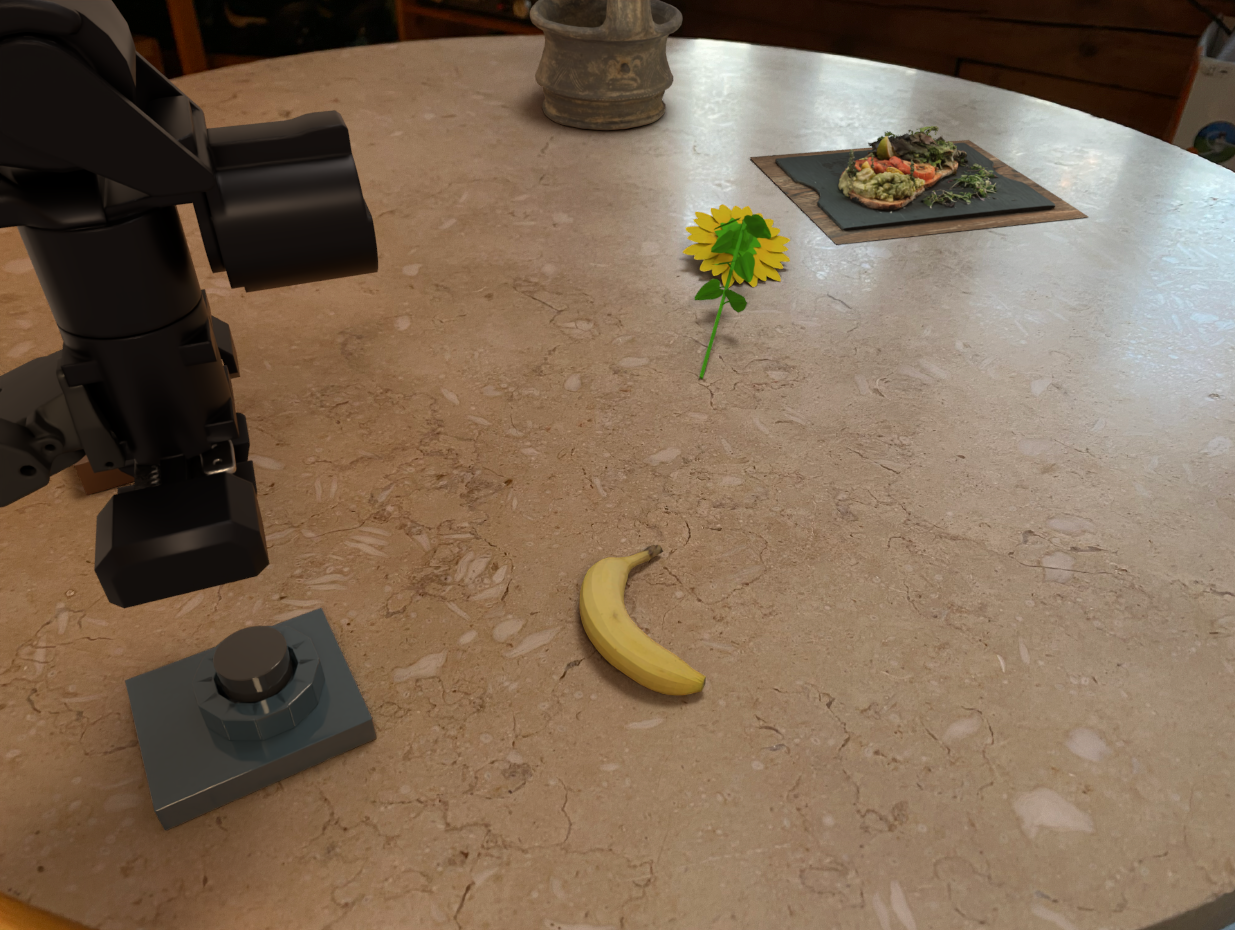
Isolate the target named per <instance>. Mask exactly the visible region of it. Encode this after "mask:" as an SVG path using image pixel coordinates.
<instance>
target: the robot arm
mask: <svg viewBox="0 0 1235 930" xmlns="http://www.w3.org/2000/svg"><path fill="white" fill-rule="evenodd" d="M136 49H137V48H136V45H135V42H134V39H133V35H132V33H131V30H130V27H129V24H128V21H126V19H125V18H124V16H123V14H122V12H120V10H119V8H117V6H116V4H115V3H114V2H113V0H0V229H7V228H15V227H16V228H17V230H18V233H19V235H20V238H21V240H22V243H23V245H24V248H25V250H26V252H27V255H28V257H29V260H30V263H31V265H32V267H33V270H34V273H35V275H36V278H37V279H38V282H39V284H40V288H41V289H42V292H43V294H44V297H45V299H46V302H47V304H48V306H49V309H50V312H51V313H52V316H53V319H54V322H55V323H56V326H57V328H58V329H57V330H59V333H60V337H61V339H62V348H61V349H59V350H56V351H55V352H53V353H49V354H48V355H44V356H38V357H36V358H34V359H31V360H29V361H27V362H25V363H23V364H20V365H18V366H17V367H15V368H13V369H11V370H9V371H7V372H5V373H3V374H1V375H0V508H5V507H9V505H12V504H13V503H16V502H17V501H19V500H21V499H23V498H25V497H27V496H29V495H31V494H34V493H35V492H38V491H39V490H41V489H42V488H46V487H47V486H48V485H49V483H50V479H51V478H52V477H53V476H55V475H57V474H58V473H60V472H62V471H64V470H66V469H68V468H70V467H72V466H74V464H76V463H77V462H78V461H80V460H81V459H82V458H83V457H84V456H85V455H86V456H87V458H88V460H89V463H90V465H91V467H92V470H93V472H94V473H98V472H103V471H108V470H113V469H119V470H120V471H121V472H123V473H125V474H128V475H130V476H132V477H134V483H133V484H129V485H125V486H124V485H123V486H118V487H117V490H116V492H117V493H114V494H113V495H112V496H111V497H110V499H109V500H108V501H107V503H106V504H105V505H104V506H103V507H102V509H101V510H100V511H99V512H98V514H97V515H96V521H95V522H96V524H95V544H94V545H95V546H94V547H95V548H94V565H93V566H94V567H93V571H94V573H95V575H96V577H97V579H98V581H99V584H100V585H101V588H102V590H103V592H104V594H105V597H106V598H107V601H108V603H109V604H112V605H114V606H117V607H119V608H122V609H124V610H125V609H128V608H132V607H137V606H140V605H145V604H149V603H152V602H158V601H161V600H166V599H169V598H174V597H178V596H182V595H186V594H190V593H195V592H199V591H202V590H206V589H212V588H214V587H218V586H219V587H220V586H223V585H227V584H231V583H235V582H239V581H245V580H249V579H252V578H255V577H256V578H257V577H258V576H259V575H260V574H261V573H262V572H263V571H264V570H265V569H266V568H267V567H268V566H269V565H270V558H269V552H268V545H267V538H266V533H265V526H264V522H263V518H262V512H261V508H260V504H259V500H258V485H257V480H256V473H255V466H254V460H253V459H250V460H249V455H250V449H251V441H250V434H249V429H248V428H249V427H248V422H247V417H246V415H245V414H244V413H242V412H237V411H236V410H237V409H236V404H235V397H234V389H233V388H234V387H233V382H232V379H233V380H234V379H237V378H241V371H240V366H239V360H238V352H237V349H236V346H235V343H234V338H233V335H232V330H231V327H230V324H229V323H228V322H226V321H223V320H221V319H220V318H218V317H216V316H214V315H212V309H211V306H210V302H209V299H208V298H209V297H208V294H207V291H206V288H203V289H202V288H201V285H200V282H199V278H198V275H197V272H196V268H195V263H194V261H193V258H192V254H191V250H190V247H189V244H188V240H187V237H186V234H185V230H184V226H183V223H182V220H181V216H180V212H179V209H178V206H181V205H188V204H192V205H193V210H194V214H195V216H196V221H197V225H198V230H199V232H200V236H201V240H202V244H203V247H204V248H203V249H204V251H205V255H206V258H207V261H208V264H209V268H210V270H211V273H212V274H219V273H224V272H226V276H227V279H228V283H229V285H230V289H231V290H234V289H240V288H244V290H245V293H246V294H247V293H252V292H253V293H254V292H260V291H265V290H273V289H279V288H286V287H292V286H298V285H305V284H310V283H312V284H313V283H317V282H323V281H330V280H336V279H343V278H348V277H349V278H351V277H355V276H362V275H369V274H375V273H378V272H379V254H378V253H379V251H378V244H377V243H378V242H377V237H376V236H377V235H376V230H375V224H374V218H373V215H372V212H371V211H370V209H369V206H368V204H367V202H366V200H365V197H364V195H363V189H362V184H361V180H360V177H359V173H358V169H357V166H356V162H355V158H354V155H353V149H352V144H351V139H350V133H349V131H350V130H349V128H348V126H347V124H346V122H345V120H344V117H343V116H342V114H341V113H340V112H339V111H337V110H336V109H333V110H324V111H314V112H309V113H304V114H301V115H299V116H298V115H297V116H296V117H293V118H290V119H285V120H276V121H266V122H258V123H257V122H256V123H247V124H237V125H228V126H218V127H208V126H207V123H206V117H205V113H204V110H203V109H202V108H201V107H200V106H199V105H198V104H197V103H196V102H195V101H194V100H192V99H191V98H190V97H189V96H188V95H187V94H185V92H183V91H182V90H181V89H180V88H179V87H178V86H177V85H175V84H174V83H173V82H172V81H171V80H170V79H169V78H168V77H166V75H164V74H163V73H162V72H161V71H159V69H158V68H157V67H155V66H154V65H153V64H152V63H150V62H149V61H148V60H147V59H146V58H145V57H144V56H143V55H141V54H140V52H138V51H137V50H136Z"/></svg>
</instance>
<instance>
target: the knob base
mask: <svg viewBox="0 0 1235 930" xmlns="http://www.w3.org/2000/svg"><path fill="white" fill-rule="evenodd" d="M266 626H267V627H271V628H274V629H276V630H277V631H279V632H280V633H281V634H282V635H283V636H284V638H285V640H286V643H287V647H288V650H289V653H290V657H291V660H292V663H293V672H292V676H291V678H290V680H289V682H288V683H287V684H286V686H285V687H284V688H283V689H282V690H280V691H279V692H278V693H276V694H275V695H273V696H271V697H269V698H267V699H264V700H262V701H258V702H249V703H247V702H239V701H236V700H233V699H231V698H230V697H228V696H227V695H226V694H225V692H224V691H223V688H222V686H221V683H220V681H219V678H218V675H217V673H216V670H215V668H214V664H213V658H214V654H215V651H216V649H217V648H218V646H219V645H220V643H221V642H222V641H220V642H219V643H217V645H216V646H213V647H210V648H208V649H205V650H202V651H199V652H197V653H195V654H192V655H189V656H186V657H183V658H181V659H178V660H175V661H173V662H170V663H167V664H164V665H161V666H159V667H156V668H154V669H153V668H152V669H151V670H148V671H146V672H142V673H140V674H138V675H135V676H132V677H129V678H126V679H125V680H124V684H125V688H126V693H127V697H128V701H129V706H130V711H131V715H132V720H133V725H134V728H135V732H136V737H137V743H138V746H139V750H140V755H141V759H142V764H143V768H144V772H145V777H146V781H147V786H148V791H149V795H150V798H151V803H152V808H153V812H154V814H155V816H156V818H157V819H158V821H159V824H160V825H161V828H162V829H163V831H169V830H172V829H173V828H175V827H178V826H180V825H182V824H184V823H187V822H190V821H192V820H194V819H196V818H198V817H200V816H202V815H205V814H207V813H209V812H213V811H215V810H216V809H219V808H220V807H224V806H225V805H228V804H230V803H232V802H235V801H237V800H239V799H242V798H244V797H246V796H249V795H250V794H253V793H255V792H258V791H260V790H263V789H264V788H267V787H269V786H271V785H274V784H276V783H279V782H281V781H283V780H286V779H287V778H289V777H292V776H294V775H296V774H299V773H301V772H303V771H305V770H308V769H310V768H313V767H314V766H317V765H320V764H322V763H324V762H326V761H328V760H331V759H333V758H335V757H337V756H338V757H339V756H340V755H343V754H344V753H347V752H349V751H351V750H354V749H356V748H358V747H361V746H363V745H365V744H367V743H369V742H372V741H374V740H376V739H377V738H378V736H377V731H376V727H375V723H374V718H373V715H372V714H371V712H370V710H369V707H368V705H367V703H366V701H365V698H364V697H363V694H362V692H361V690H360V688H359V686H358V684H357V681H356V679H355V676H354V675H353V673H352V671H351V668H350V666H349V664H348V662H347V659H346V657H345V654H344V653H343V651H342V648H341V646H340V644H339V642H338V640H337V638H336V635H335V633H334V631H333V629H332V627H331V624H330V622H329V621H328V618H327V616H326V613H325V612H324V609H323V608H322V607H318V608H316V609H313V610H310V611H307V612H305V613H302V614H300V615H296V616H295V617H291V618H288V619H286V620H283V621H281V622H278V623H275V624H273V625H266Z"/></svg>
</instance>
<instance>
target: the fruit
mask: <svg viewBox="0 0 1235 930" xmlns="http://www.w3.org/2000/svg"><path fill="white" fill-rule="evenodd" d="M662 553H664V550H663V548H662V546H661V544H652V545H649V546H647V547H646V548H644V549H643V550H641V551H639V552H637V553H635V554H631V555H628V556H622V557H613V556H612V557H611V556H609V557H607V556H606V557H605V558H602V559H600V560H599V561H597V562H595V563H594V564H593V565H592V566H590V568H588V569H587V571H586V574H585V576H584V578H583V579H582V582H581V586H580V590H579V615H580V621H581V623H582V626H583V629H584V632H585V633H586V635H587V637H588V639H589V641H590V642H591V643H592V645H593V646H594V648H595V650H597V651H598V653H599V654H600V655H601V656H602V657H603V658H604V659H605V660H606V661H607V662H608V663H609V664H610V665H611V666H612V667H614V668H615V669H617V670H618V671H620V672H621V673H622V674H624V675H625V676H627V677H628V678H629V679H631V680H633V681H634V682H636V683H637V684H639V685H640V686H642V687H644V688H647V689H648V690H650V691H652V692H656V693H659V694H663V695H669V696H686V695H691V694H696V693H700V692H703V690H704V688H705V687H706V679H707V676H706V675H705V674H703V673H701V672H699V671H698V670H696V669H694V668H693V667H691V665H689V664H688V663H687V662H686V661H684V660H683V658H680V657H679V656H677V655H676V654H675V653H673V652H672V651H670V650H668V649H667V648H665V647H663V645H661V644H659V643H658V642H656V641H655V640H653V639H652V637H650V636H649V635H647V634H646V633H645V632H644V631H643V630H642V629H641V628H640V627H639V626H638V625H637V624H636V623H635V622H634V621H633V619H632V618H631V616H630V615H629V614H628V613H629V612H628V611H627V608H626V605H625V591H626V586H627V582H628V577H629V574H630V572H631V570H632V569H633V568H635V567H638V566H639V565H641V564H644V563H647V562H649V561H650V560H652V559H653V558H655V557H657V556H659V555H660V554H662Z"/></svg>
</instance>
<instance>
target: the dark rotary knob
mask: <svg viewBox="0 0 1235 930" xmlns="http://www.w3.org/2000/svg"><path fill="white" fill-rule="evenodd" d="M267 626H268V625H253V626H248V627H244V628H241V629H239V630H236V631H234V632H233V633H230V634H229V635H228V636H226V637H225V638H223V640H221V641H220V642H221V643H220V642H219V643H220V645H219V646H218V648H217V649H216V651H215V654H214V658H213V664H214V668H215V670H216V673H217V675H218V678H219V681H220V683H221V686H222V688H223V691H224V692H225V694H226V695H227V696H228V697H230V698H231V699H233V700H236V701H239V702H247V703H249V702H258V701H262V700H264V699H267V698H269V697H271V696H273V695H275V694H276V693H278V692H279V691H280V690H282V689H283V688H284V687H285V686H286V684H287V683H288V682H289V680H290V678H291V676H292V672H293V663H292V660H291V657H290V653H289V650H288V647H287V643H286V640H285V638H284V636H283V635H282V634H281V633H280V632H279V631H277V630H276V629H274V628H271V627H267Z"/></svg>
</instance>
